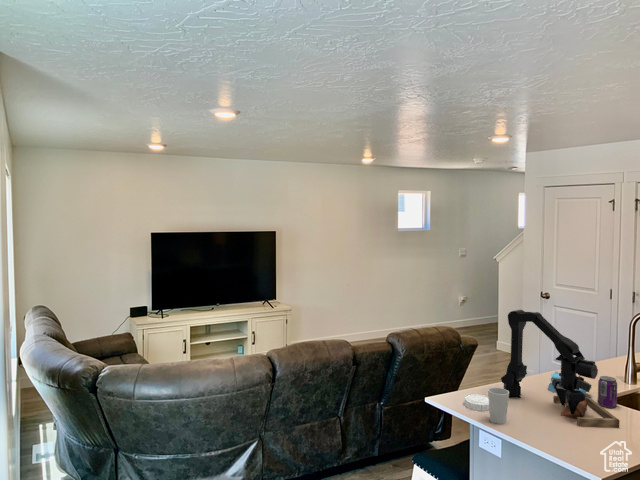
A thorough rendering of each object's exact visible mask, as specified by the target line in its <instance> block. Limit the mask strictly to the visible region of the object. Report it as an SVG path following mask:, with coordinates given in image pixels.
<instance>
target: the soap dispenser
mask: <svg viewBox="0 0 640 480" xmlns="http://www.w3.org/2000/svg"><path fill="white" fill-rule="evenodd" d="M554 379H561V377H560V376H559V371H554V373H552V374H551V378H550V383H548V385H547V388H548V389H547V390H548V391H549V392H552V393H554V394H557V393H556V391H555V389H554V386H553V385H552V381H553V380H554ZM591 389H593V388H592V386H591V388H590V390H591ZM575 390H576V389H575ZM579 390H580V391H581V392H582V393H583V394H584V395H585V394H587V392H586V391H585V390H582V389H580V388H579Z"/></svg>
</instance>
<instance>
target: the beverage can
mask: <svg viewBox="0 0 640 480" xmlns="http://www.w3.org/2000/svg"><path fill="white" fill-rule="evenodd" d="M597 385H598V386H597V403H598V404H599V405H600V406H602V407H603V408H610V409H611V408H613V409H614V408H615V407H617V406H618V381H617V378H615V377H612V376H609V375H601V376H599V379H598V382H597Z"/></svg>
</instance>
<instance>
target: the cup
mask: <svg viewBox="0 0 640 480" xmlns="http://www.w3.org/2000/svg"><path fill="white" fill-rule="evenodd" d="M487 397H489V411H488V412H489V421H490V422H491V423H493V424H498V425H499V424H501V425H503V424H506V423H507V418H508V416H507V415H508V407H509V399H510V398H509V391H508V390H506V389H504V388H503V387H490V388H488V389H487Z"/></svg>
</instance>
